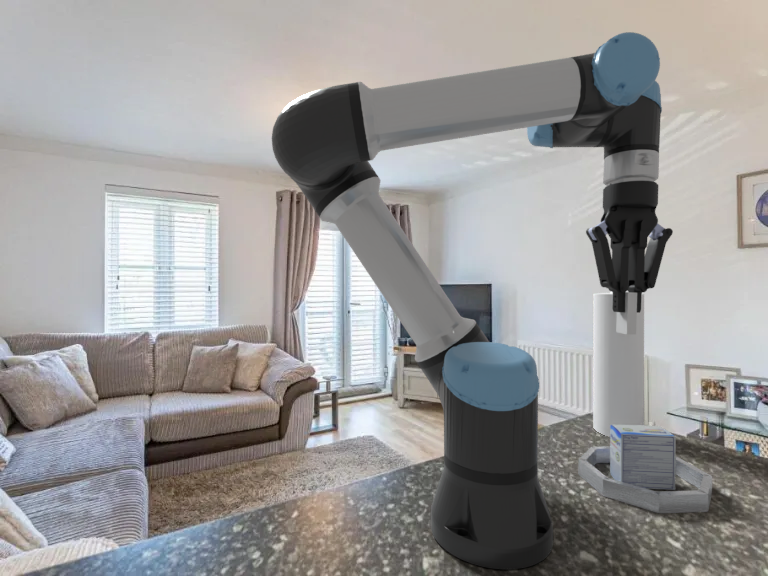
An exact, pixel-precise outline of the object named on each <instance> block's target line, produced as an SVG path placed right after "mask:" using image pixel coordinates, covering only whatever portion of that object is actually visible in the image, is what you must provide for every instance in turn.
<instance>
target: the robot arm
mask: <svg viewBox="0 0 768 576" xmlns="http://www.w3.org/2000/svg"><path fill="white" fill-rule="evenodd" d="M660 68H661V57H660V54H659V50H658V48H657V46H656V45H655V43H654V42H653V41H652V40H651V39H650V38H648V36H646V35H644V34H642V33H638V32H633V31H632V32H622V33H618V34H617V35H615V36H613V37H611V38H610V39H608V40H607V41H606V42H604V43H602V44H601V45H600V46H599V47H598V48H597V49H596V51H595V52H593V53H592V52H591V53H587V54H584V55H583V54H581V55H575V56H571V57H563V58H559V59H552V60H545V61H540V62H533V63H527V64H520V65H514V66H507V67H501V68H495V69H489V70H483V71H476V72H471V73H470V72H469V73H463V74H457V75H453V76H452V75H451V76H445V77H439V78H433V79H426V80H421V81H420V80H419V81H413V82H409V83H408V82H407V83H401V84H400V83H399V84H394V85H389V86H381V87H376V88H370V87H368V86H367V85H366V84H365V83H363V82H362V81H357V82H351V83H344V84H337V85H333V86H329V87H323V88H320V89H316V90H312V91H310V92H308V93H306V94H303V95H301V96H299V97H297V98H296V99H294V100H292V101H291V102H289V103H288V104H287V105H286V106H285V107H284V108H283V109H282V110H281V111H280V112H279V114H278V116H277V117H276V120H275V122H274V124H273V127H272V133H271V144H272V145H271V146H272V152H273V154H274V158H275V160H276V162H277V163H278V165H279V167H280V168H281V169H282V171H283V172H284V173H285V174H286V175H287V176H288V177H289V178H290V179H291V180H293V182H294V183H296V185H297V186H298V187H299V189H300V191H301V192H302V194H303V195H304V196H305V198H306V199H307V202H308V203H310V205H311V207H312V208H313V210H314V211H315V213H316V215H318V218H319V219H320V221H322V222H326V223H330V224H331V223H332V224H334V225H335V226H336V228H337V229H338V230H339V232H340V234H341V235H342V237H343V238H344V239H345V241H346V243H347V244H348V246H349V247H350V249H351V250H352V251H353V253H354V255H355V256H356V258H357V259H358V260H359V262H360V264H361V265H362V266H363V268H364V270H365V271H366V272H367V274H368V275H369V276H370V278H371V280H372V281H373V283H374V284H375V287H377V288H378V290H379V292H380V293H381V295H382V296H383V298H384V299H385V300H386V302H387V304H388V305H389V307H390V308H391V309H392V311H393V313H394V314H395V316H396V317H397V318H398V320H399V321H400V323H401V325H402V326H403V328H404V330H406V333H408V335H409V336H410V339H412V341H413V343H414V344H415V346H416V348H415V355H414V360H415V362H416V364H417V365H418V366H419V368H420V370H421V371H422V372H423V374H424V376H425V377H426V379H427V380H428V382H429V384H431V386H432V387H433V389H434V391H435V392H436V394H437V396H438V398H439V401H440V404H441V407H442V409H443V454H444V455H443V470H442V473H441V475H440V479H439V482H438V484H437V488H436V491H435V493H434V497H433V500H432V503H431V505H430V506H431V508H430V529H431V533H432V535H433V538H434V539H435V541H436V543H438V544H439V546H440V547H442V548H443V549H444V550H445V551H446V552H448V553H449V554H451V555H452V556H453V557H456V558H458V559H459V560H462V561H464V562H467V563H470V564H472V565H474V566H477V567H478V566H479V567H483V568H488V569H494V570H519V569H525V568H528V567H533V566H535V565H536V564H539V563H540V562H542V561H543V560H545V559H546V558H547V557H548V556H549V555H550V553H551V551H552V549H553V547H554V546H553V545H554V525H553V519H552V516H551V514H550V509H549V508H548V507H549V506H548V504H547V502H546V498H545V495H544V492H543V489H542V486H541V483H540V480H539V473H538V470H539V469H538V459H539V458H538V456H539V455H538V453H539V451H538V450H539V448H538V447H539V444H538V440H539V439H538V438H539V437H538V436H539V435H538V433H539V428H538V427H539V423H538V422H539V412H538V411H539V391H540V390H539V389H540V381H539V377H538V368H537V363H536V361H535V359H534V357H533V356H532V355H531V354H530V353H528V352H527V351H526V350H525V349H522V348H519V347H517V346H510V345H508V344H505V343H500V342H490V340H489V339H488V338H487V336H486V335H485V333H484V331H482V328H481V327H480V326H479V325H478V323H477V321H476V320H475V319H471V318H467V317H463V316H461V315H460V313H459V312H458V310H457V308H456V306H454V304H453V303H452V301H451V300H450V298H449V297H448V295H447V294H446V293H445V291H444V289H443V288H442V286H441V284H440V283H439V282H438V281H437V279H436V278H435V276H434V275H433V273H432V272H431V270H430V269H429V267H428V265H427V264H426V263H425V261H424V260H423V258H422V256H421V255H420V254H419V252H418V250H417V249H416V248H415V245H413V243H412V241H410V239H409V237H408V235H407V234H406V233H405V231H404V229H402V226H401V225H400V224H399V222H398V221H397V219H396V218H395V216H394V215H393V213H392V211H390V208H389V207H388V206H387V204H386V203H385V202H384V200H383V199H382V197H381V196H380V186H381V179H380V177H379V175H378V174H377V173H376V171H375V169H374V168H373V167H372V165H371V164H370V162H371V161H373V160H374V159H375V158H376V156H377V155H378V154H379V153H380V152H382V151H383V152H384V151H387V150H395V149H400V148H406V147H414V146H420V145H426V144H431V143H437V142H444V141H451V140H456V139H463V138H468V137H475V136H476V137H477V136H481V135H483V136H484V135H488V134H494V133H502V132H506V131H515V130H520V129H525V128H526V131H527V132H526V135H527V140H528V142H529V143H530V144H531V145H532V146H534V147H540V148H541V147H542V148H550V149H553V148H603V160H604V161H603V175H602V176H603V177H602V184H603V185H604V186H605V187H604V188H603V189H602V210H603V213H602V214H603V215H602V216H601V218H600V222H599V223H598V224H596V225H595V226H592V227H588V228H586V230H585V234H586V236H587V238H589V240H590V242H591V246H592V249H593V254H594V259H595V264H596V268H597V269H596V270H597V275H598V278H599V279H598V281H599V283H600V284H599V285H600V287H602V288H606V289H608V291H610V292H611V291H612V292H613V306H612V309H613V311H614V312H617V322H616V332H618V333H623V334H636V319H637V313H640V311H641V295H642V294H643V293H646V292H647V290H648V289H654V288H655V286H656V283H657V279H658V276H659V275H658V274H659V271H660V267H661V264H662V260H663V256H664V253H665V249H666V245H667V243H668V241H669V240H670V238H671V237H672V235H673V229H672V228H670V227H667V228H665V227H663V226H662V225H660V224H659V219H658V216H657V215H656V209H657V206H658V204H659V184H658V183H657V182H656V181H657V180H658V179H659V175H660V174H659V173H660V172H659V171H660V170H659V169H660V168H659V167H660V138H661V114H662V111H663V107H662V96H661V95H662V94H661V87H660V85H659V82H657V80H656V79H657V77H658V75H659V71H660ZM607 235H608V237H609V238H610V244H609V240H608V237H607ZM648 237H649V238H650V239H649V241H648Z"/></svg>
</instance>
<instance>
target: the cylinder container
mask: <svg viewBox="0 0 768 576" xmlns="http://www.w3.org/2000/svg"><path fill="white" fill-rule="evenodd" d="M592 296H593V297H592V301H593V304H592V305H593V306H592V309H593V310H592V311H593V312H592V314H593V317H592V318H593V323H592V325H593V327H592V328H593V330H592V331H593V333H592V335H593V336H592V337H593V339H592V341H593V343H592V347H593V349H592V353H593V354H592V356H593V358H592V362H593V363H592V368H593V370H592V372H593V373H592V375H593V377H592V380H593V382H592V388H593V389H592V390H593V391H592V394H593V395H592V396H593V397H592V402H593V403H592V421H593V422H592V427H593V428H594V429H595V430H596V431H597V432H599V433H601V434H603V435H605V436H604V437H606V436H609V437H608V438H610V425H613V424H614V425H645V293H642V295H641V311H640V313H637V319H636V334H623V333H618V332H616V322H617V312H614V311H613V309H612V306H613V292H612V291H610V292H597V293H592ZM593 428H592V429H593ZM597 432H596V433H597ZM601 434H600V435H601ZM603 435H602V436H603Z"/></svg>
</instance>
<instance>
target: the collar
mask: <svg viewBox="0 0 768 576" xmlns="http://www.w3.org/2000/svg"><path fill="white" fill-rule="evenodd" d="M604 463H606V464H607V463H608V464H610V445H609V446H607V445H605V446H604V445H602V446H590V447H589V448H588V449H587V450H586V451H585V452H584V453H583V454H582V455H581V456H580V457H579V458H578V465H577V466H578V468H577V469H578V471H577V472H578V475H579V476H580V478H582V479H584V481H585V482H587V483H588V484H589V485H590V486H591V487H592V488H593V489H594V490H596V491H597V493H598V494H600V495H602V497H605V498H608V499H612V500H615V501H618V502H621V503H625V504H628V505H630V506H634V507H637V508H641V509H644V510H647V511H649V512H653V513H656V514H676V513H677V514H681V513H708V512H709V508H710V505H711V498H712V494H713V476H712V475H711V474H709V473H707V472H706V471H704V470H702V469H700V468H698V467H696V466H695V465H694V464H693V465H692V464H691V463H689V462H687V461H685V460H684V459H682V458H681V457H679V456H677V455H675V476H678V478H681V479H682V480H684V481H686V482H687V483H689V484H691V485H692V486H694V487H695V488H697V490H666V491H662V490H661V491H656V490H654V489H646V488H642V487H638V486H635V485H631V484H628V483H624V482H621V481H617V480H614V478H609V477H607V475H605V474H604V473H603V472H601V471H600V470H598V468H596V467H595V465H596V464H604Z"/></svg>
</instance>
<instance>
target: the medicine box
mask: <svg viewBox="0 0 768 576" xmlns="http://www.w3.org/2000/svg"><path fill="white" fill-rule="evenodd" d="M609 438H610V439H609V442H610V443H609V446H610V463H609V464H610V465H609V471H610V472H609V473H610V476H611V477H612V479H614V480H617V481H621V482H624V483H628V484H631V485H635V486H638V487H642V488H646V489H649V490H666V491H676V474H675V456H677V455H676V449H677V448H676V441H677V436H675V435H674V434H672V433H671V432H670V431H669V430H667V429H665V428H664V427H663V426H661V425H645V424H644V425H614V424H613V425H610V437H609Z"/></svg>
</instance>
